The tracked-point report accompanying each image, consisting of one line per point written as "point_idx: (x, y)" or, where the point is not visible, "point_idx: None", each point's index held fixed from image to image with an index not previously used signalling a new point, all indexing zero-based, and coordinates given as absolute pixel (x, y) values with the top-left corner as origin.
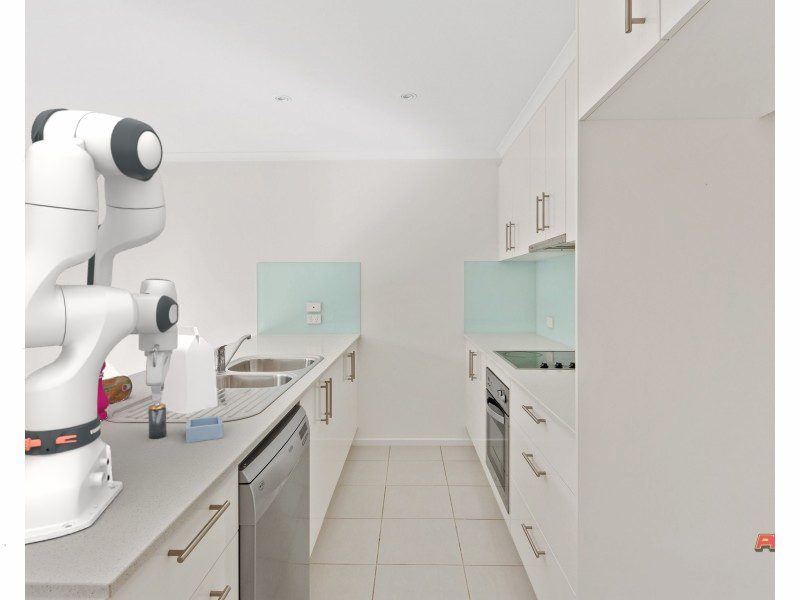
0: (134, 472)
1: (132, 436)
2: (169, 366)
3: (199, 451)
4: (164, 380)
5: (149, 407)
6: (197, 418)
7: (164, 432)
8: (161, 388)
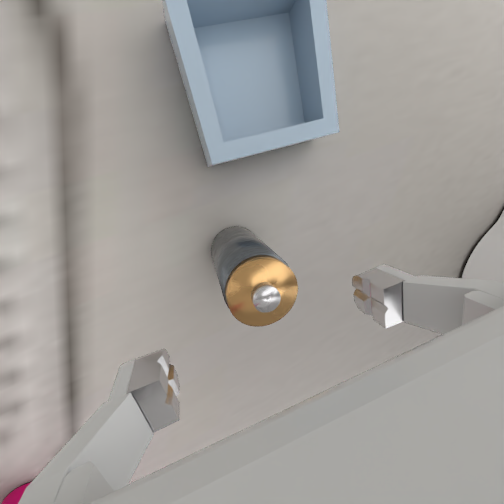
0: (457, 203)
1: (224, 319)
2: None
3: (393, 75)
4: (95, 423)
5: (285, 314)
6: (204, 114)
7: (247, 230)
8: (166, 367)
